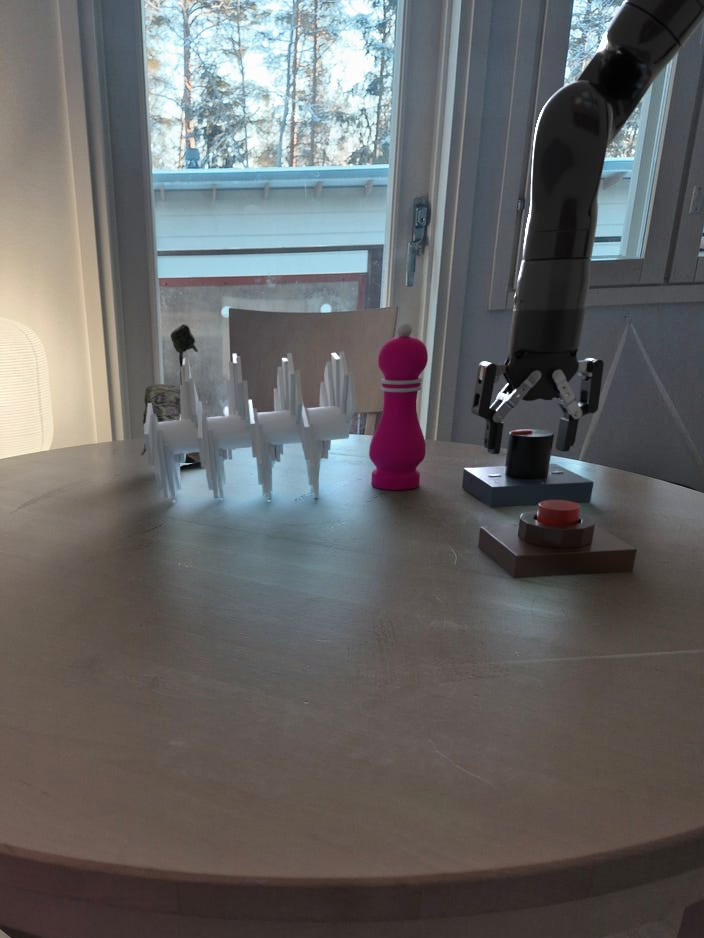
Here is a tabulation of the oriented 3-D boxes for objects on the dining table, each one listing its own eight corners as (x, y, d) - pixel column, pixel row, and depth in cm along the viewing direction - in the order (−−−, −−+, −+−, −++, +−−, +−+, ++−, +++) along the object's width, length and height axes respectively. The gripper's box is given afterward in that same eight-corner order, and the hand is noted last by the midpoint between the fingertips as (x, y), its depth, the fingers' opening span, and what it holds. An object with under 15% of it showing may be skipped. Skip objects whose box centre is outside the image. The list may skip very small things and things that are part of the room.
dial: (537, 468, 93) (543, 425, 91) (555, 478, 89) (562, 432, 87) (498, 470, 93) (503, 427, 91) (514, 480, 89) (520, 435, 86)
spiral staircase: (161, 521, 101) (344, 506, 100) (142, 497, 84) (363, 478, 83) (150, 389, 101) (333, 372, 100) (129, 336, 84) (350, 315, 83)
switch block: (584, 541, 75) (591, 503, 74) (632, 572, 67) (641, 529, 66) (477, 547, 75) (482, 508, 73) (513, 578, 67) (519, 536, 65)
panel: (552, 482, 97) (555, 462, 96) (590, 502, 88) (594, 480, 87) (461, 487, 96) (463, 466, 95) (490, 508, 87) (493, 485, 86)
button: (566, 516, 71) (569, 498, 71) (584, 527, 68) (588, 508, 67) (529, 518, 71) (532, 500, 70) (546, 529, 68) (549, 511, 67)
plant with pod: (143, 461, 119) (132, 325, 110) (214, 457, 119) (208, 322, 110) (140, 472, 111) (128, 328, 103) (216, 468, 112) (209, 325, 103)
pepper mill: (357, 486, 99) (363, 324, 90) (386, 475, 104) (394, 320, 95) (404, 494, 94) (416, 324, 86) (433, 482, 99) (446, 320, 90)
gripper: (499, 308, 79) (481, 460, 86) (630, 303, 80) (601, 455, 87) (474, 306, 86) (459, 448, 93) (594, 302, 86) (570, 443, 93)
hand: (527, 451), depth 90 cm, fingers open, 8 cm apart
